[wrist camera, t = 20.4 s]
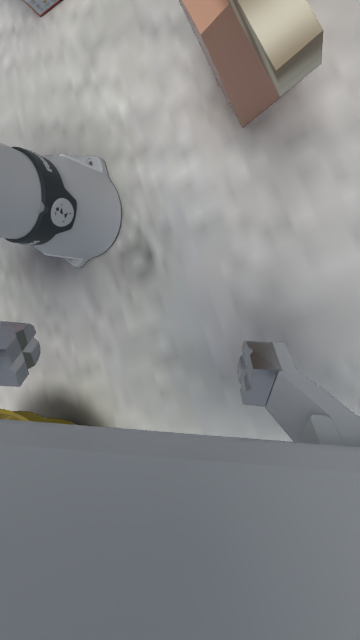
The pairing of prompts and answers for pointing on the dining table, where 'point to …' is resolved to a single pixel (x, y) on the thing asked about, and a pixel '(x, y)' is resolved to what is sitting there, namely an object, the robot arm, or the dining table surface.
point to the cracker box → (41, 5)
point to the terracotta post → (231, 57)
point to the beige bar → (282, 38)
